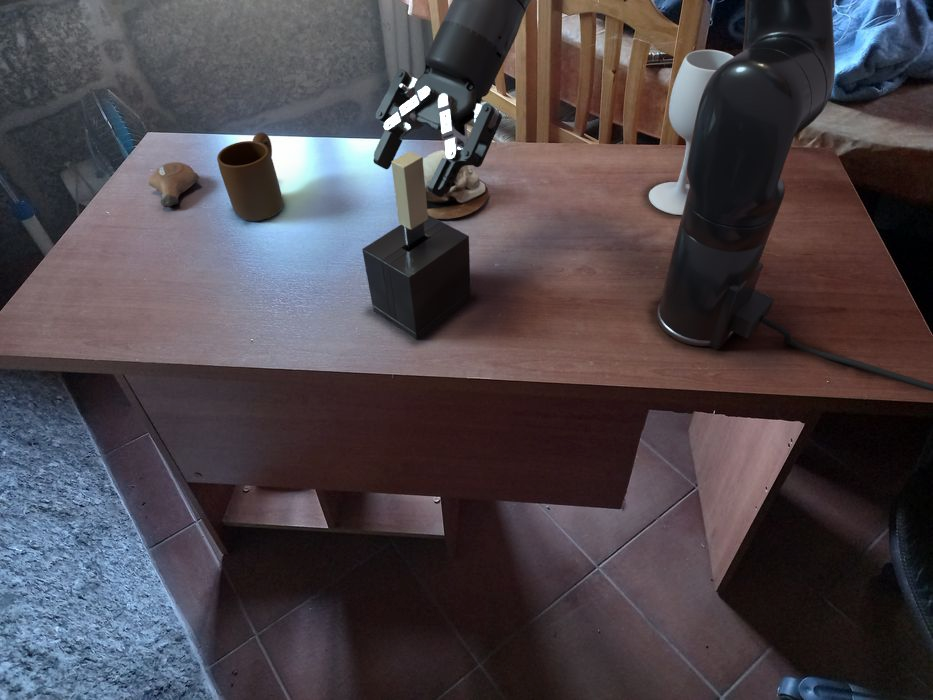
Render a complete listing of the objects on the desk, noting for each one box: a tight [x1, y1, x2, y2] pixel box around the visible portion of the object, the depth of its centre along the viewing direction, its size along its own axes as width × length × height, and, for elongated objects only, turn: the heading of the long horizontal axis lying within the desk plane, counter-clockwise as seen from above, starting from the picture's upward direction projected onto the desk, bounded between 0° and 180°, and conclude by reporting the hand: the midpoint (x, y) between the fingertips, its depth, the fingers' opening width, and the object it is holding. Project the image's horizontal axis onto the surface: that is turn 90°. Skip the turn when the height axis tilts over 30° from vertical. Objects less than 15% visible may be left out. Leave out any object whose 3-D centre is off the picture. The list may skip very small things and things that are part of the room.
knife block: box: [361, 215, 472, 340], centre depth 81 cm, size 8×10×10 cm
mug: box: [216, 131, 284, 222], centre depth 99 cm, size 12×8×9 cm, turn 171°
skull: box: [423, 149, 489, 220], centre depth 100 cm, size 12×10×10 cm
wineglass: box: [648, 49, 735, 216], centre depth 92 cm, size 9×9×21 cm
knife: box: [391, 151, 428, 252], centre depth 77 cm, size 2×3×20 cm
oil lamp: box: [147, 161, 200, 208], centre depth 103 cm, size 9×4×8 cm
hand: (406, 180), depth 71 cm, fingers open, 8 cm apart
